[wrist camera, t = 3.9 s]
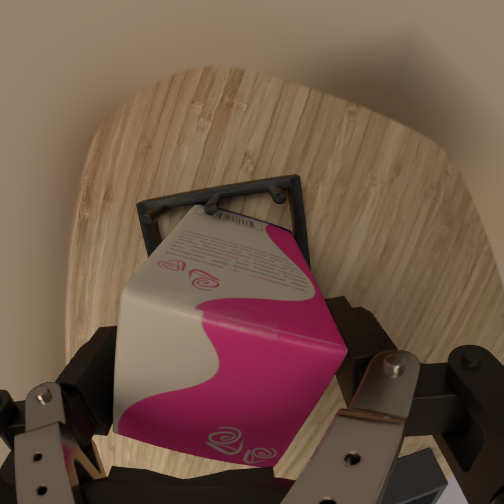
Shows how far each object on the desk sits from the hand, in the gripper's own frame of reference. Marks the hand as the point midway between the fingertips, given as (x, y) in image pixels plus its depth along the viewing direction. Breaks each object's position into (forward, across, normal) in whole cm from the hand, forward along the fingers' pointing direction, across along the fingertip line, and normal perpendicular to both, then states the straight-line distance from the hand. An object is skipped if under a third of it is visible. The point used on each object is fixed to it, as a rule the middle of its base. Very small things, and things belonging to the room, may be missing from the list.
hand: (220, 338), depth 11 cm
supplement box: (+8, 0, 0) cm, 8 cm away
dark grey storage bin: (+8, -12, +30) cm, 33 cm away
